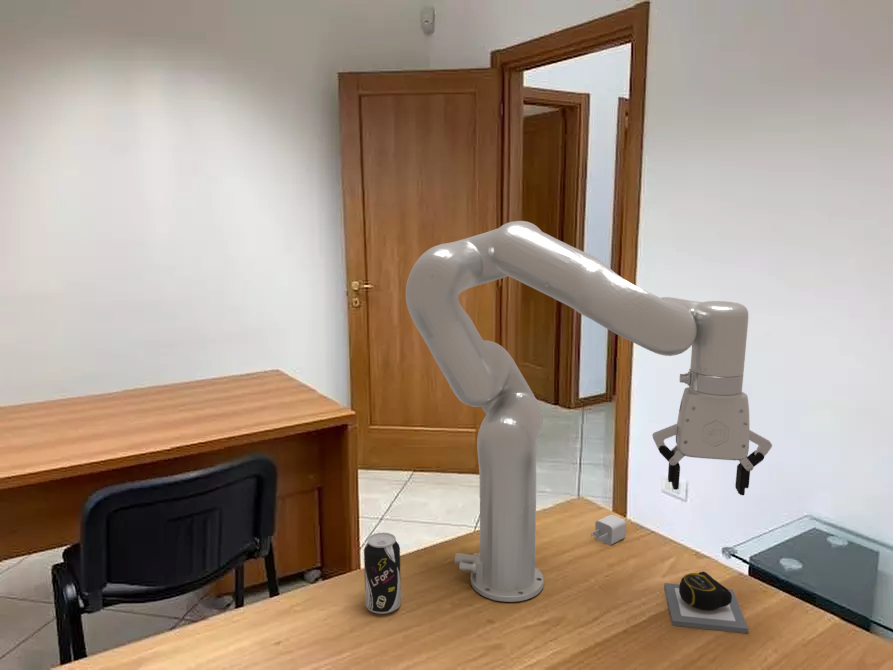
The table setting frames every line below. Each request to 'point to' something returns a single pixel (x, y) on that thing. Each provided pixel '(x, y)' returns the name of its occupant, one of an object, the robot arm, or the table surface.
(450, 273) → the robot arm
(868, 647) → the table surface
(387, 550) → the beverage can
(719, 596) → the tape measure
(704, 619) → the coaster
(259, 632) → the table surface
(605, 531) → the usb wall charger
